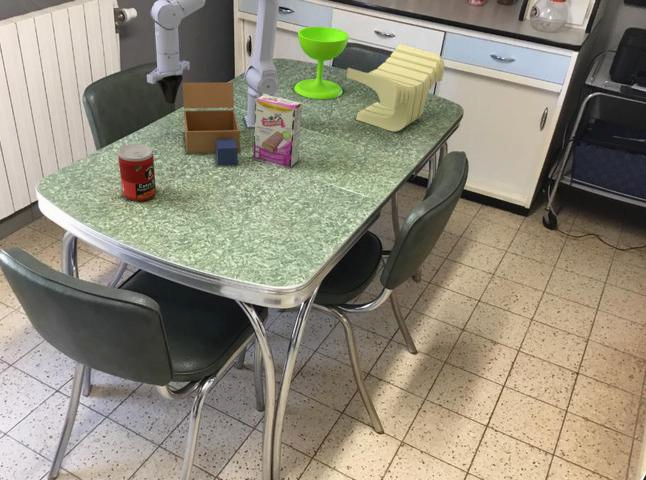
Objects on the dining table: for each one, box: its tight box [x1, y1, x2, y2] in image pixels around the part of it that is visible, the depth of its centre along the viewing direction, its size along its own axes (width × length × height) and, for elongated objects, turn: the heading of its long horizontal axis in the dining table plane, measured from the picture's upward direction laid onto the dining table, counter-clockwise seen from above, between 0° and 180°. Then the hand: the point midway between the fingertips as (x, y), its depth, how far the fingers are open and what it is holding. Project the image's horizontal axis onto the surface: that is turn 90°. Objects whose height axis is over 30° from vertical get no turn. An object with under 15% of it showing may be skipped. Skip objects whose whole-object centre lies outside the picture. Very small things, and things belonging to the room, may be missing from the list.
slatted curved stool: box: [346, 43, 445, 133], centre depth 188 cm, size 30×16×18 cm, turn 144°
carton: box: [183, 109, 241, 154], centre depth 173 cm, size 14×14×6 cm
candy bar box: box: [253, 94, 303, 168], centre depth 164 cm, size 11×5×16 cm, turn 65°
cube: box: [215, 140, 238, 166], centre depth 165 cm, size 5×5×5 cm
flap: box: [182, 81, 235, 109], centre depth 176 cm, size 7×14×1 cm
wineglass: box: [293, 26, 350, 100], centre depth 205 cm, size 16×16×18 cm
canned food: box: [117, 143, 157, 202], centre depth 148 cm, size 8×8×11 cm
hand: (170, 102), depth 171 cm, fingers closed
